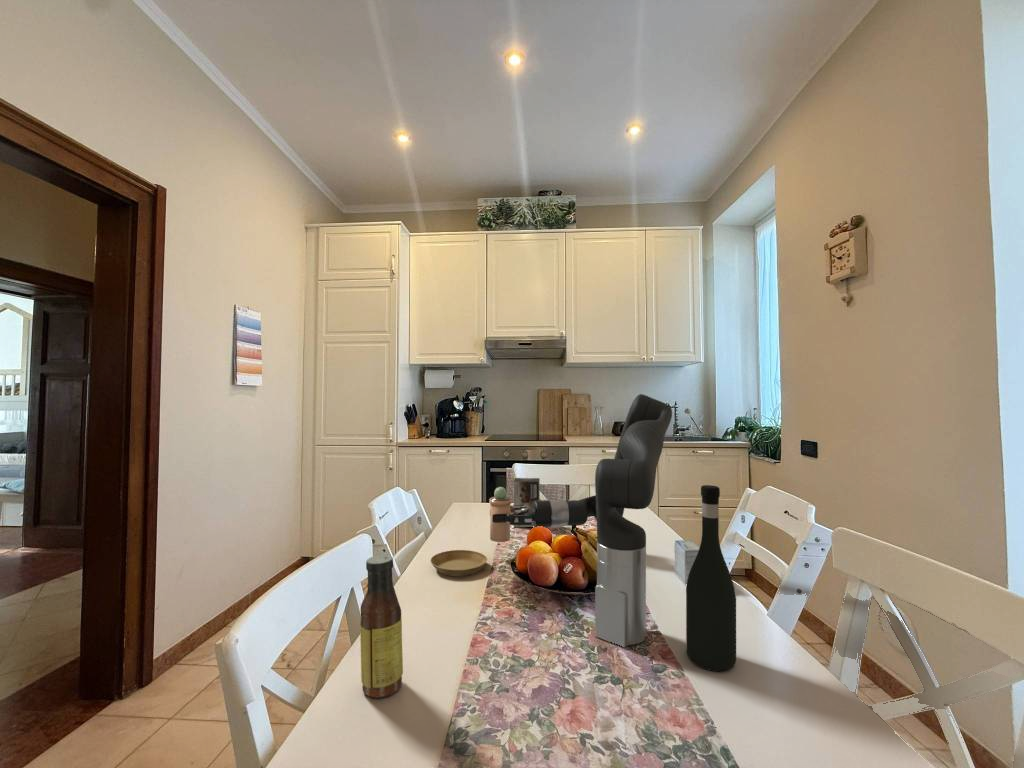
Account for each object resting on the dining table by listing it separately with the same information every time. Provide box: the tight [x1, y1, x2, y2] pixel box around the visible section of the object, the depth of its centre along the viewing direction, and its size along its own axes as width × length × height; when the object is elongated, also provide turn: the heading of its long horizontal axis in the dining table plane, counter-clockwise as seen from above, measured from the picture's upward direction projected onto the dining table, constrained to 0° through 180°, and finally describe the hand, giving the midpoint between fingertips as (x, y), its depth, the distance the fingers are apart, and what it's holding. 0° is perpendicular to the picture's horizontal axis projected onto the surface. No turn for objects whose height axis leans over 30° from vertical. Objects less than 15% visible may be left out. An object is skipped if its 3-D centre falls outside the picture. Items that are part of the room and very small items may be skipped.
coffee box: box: [512, 477, 541, 528], centre depth 163 cm, size 9×6×16 cm
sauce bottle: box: [359, 554, 404, 699], centre depth 73 cm, size 7×6×20 cm
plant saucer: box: [430, 549, 488, 577], centre depth 123 cm, size 15×15×3 cm
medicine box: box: [674, 539, 700, 585], centre depth 116 cm, size 8×4×9 cm, turn 179°
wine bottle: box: [685, 484, 737, 672], centre depth 81 cm, size 8×8×30 cm
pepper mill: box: [488, 486, 513, 543], centre depth 130 cm, size 6×6×14 cm
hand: (491, 515), depth 130 cm, fingers closed on pepper mill, 5 cm apart
